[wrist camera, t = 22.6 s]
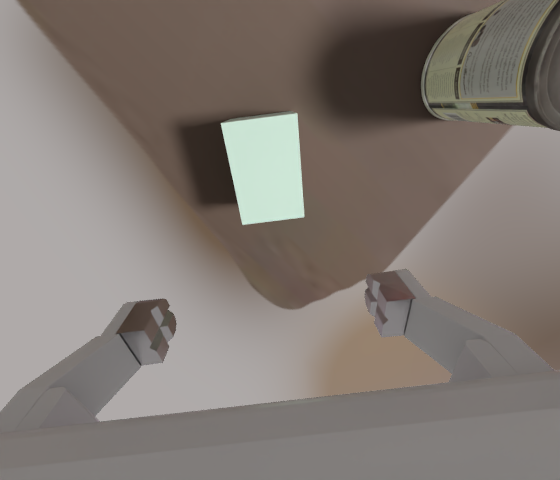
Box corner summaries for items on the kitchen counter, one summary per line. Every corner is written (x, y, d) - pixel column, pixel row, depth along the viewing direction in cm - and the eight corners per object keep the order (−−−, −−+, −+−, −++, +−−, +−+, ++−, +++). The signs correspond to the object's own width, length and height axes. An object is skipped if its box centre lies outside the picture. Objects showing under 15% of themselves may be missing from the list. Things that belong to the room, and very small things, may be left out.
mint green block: (230, 118, 29) (220, 123, 23) (290, 111, 29) (297, 113, 22) (246, 202, 34) (242, 224, 28) (297, 196, 34) (304, 217, 28)
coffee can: (524, -2, 25) (779, -107, 12) (500, 109, 30) (663, 113, 17) (423, 25, 25) (569, -49, 13) (416, 129, 30) (517, 146, 18)
